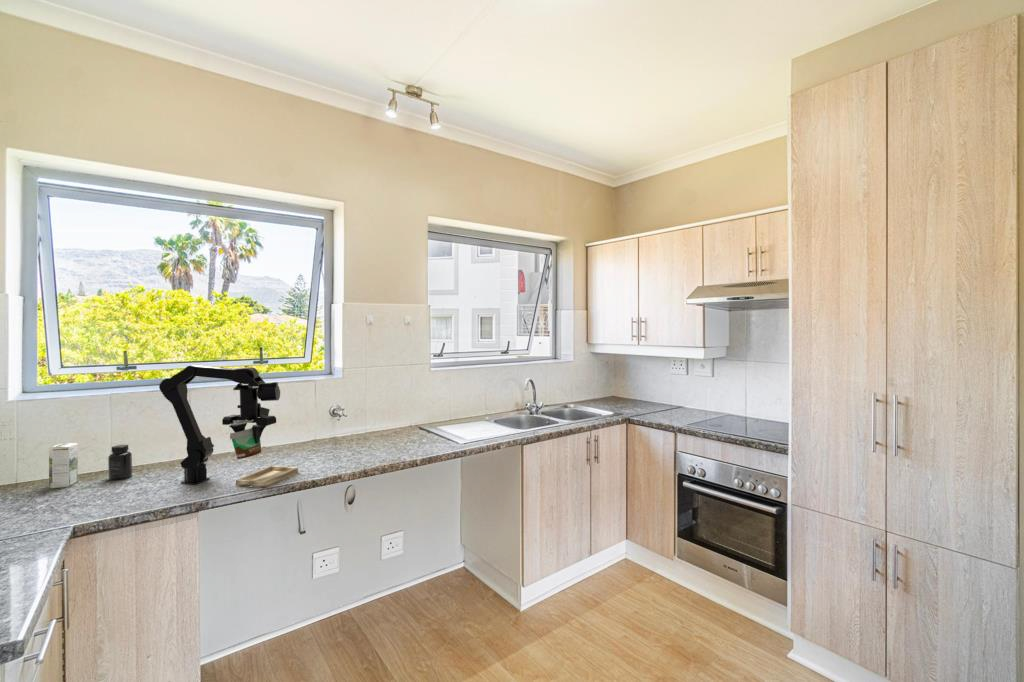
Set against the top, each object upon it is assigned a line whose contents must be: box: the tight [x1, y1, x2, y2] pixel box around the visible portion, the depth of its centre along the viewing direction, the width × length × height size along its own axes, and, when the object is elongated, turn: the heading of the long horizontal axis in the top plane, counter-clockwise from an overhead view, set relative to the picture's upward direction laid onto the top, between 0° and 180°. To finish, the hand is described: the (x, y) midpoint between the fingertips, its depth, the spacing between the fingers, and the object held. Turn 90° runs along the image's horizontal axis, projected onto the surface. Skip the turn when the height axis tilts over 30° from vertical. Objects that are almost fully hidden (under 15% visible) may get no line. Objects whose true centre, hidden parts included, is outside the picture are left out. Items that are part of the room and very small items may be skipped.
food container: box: [229, 424, 262, 460], centre depth 174 cm, size 12×6×10 cm, turn 170°
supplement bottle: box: [107, 444, 133, 481], centre depth 175 cm, size 7×7×12 cm
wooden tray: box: [235, 465, 299, 489], centre depth 174 cm, size 12×18×2 cm, turn 169°
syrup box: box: [48, 442, 79, 489], centre depth 166 cm, size 6×6×14 cm
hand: (250, 443), depth 174 cm, fingers closed on food container, 5 cm apart
